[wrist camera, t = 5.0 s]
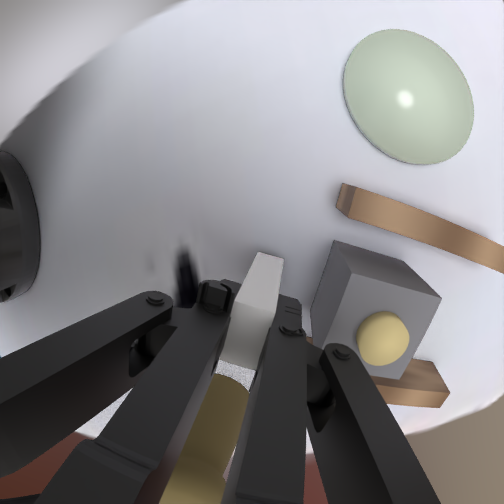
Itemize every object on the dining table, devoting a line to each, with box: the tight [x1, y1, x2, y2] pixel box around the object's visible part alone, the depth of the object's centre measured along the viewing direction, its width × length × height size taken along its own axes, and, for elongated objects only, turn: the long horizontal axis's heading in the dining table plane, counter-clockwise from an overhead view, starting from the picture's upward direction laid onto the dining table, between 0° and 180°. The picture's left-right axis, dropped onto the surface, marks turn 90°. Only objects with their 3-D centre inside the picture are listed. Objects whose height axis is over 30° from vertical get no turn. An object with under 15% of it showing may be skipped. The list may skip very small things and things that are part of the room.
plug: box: [310, 240, 442, 380], centre depth 15 cm, size 5×5×7 cm
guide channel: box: [306, 183, 504, 408], centre depth 16 cm, size 12×12×4 cm
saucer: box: [343, 29, 474, 164], centre depth 14 cm, size 9×9×1 cm
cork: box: [159, 374, 249, 504], centre depth 17 cm, size 6×6×11 cm
